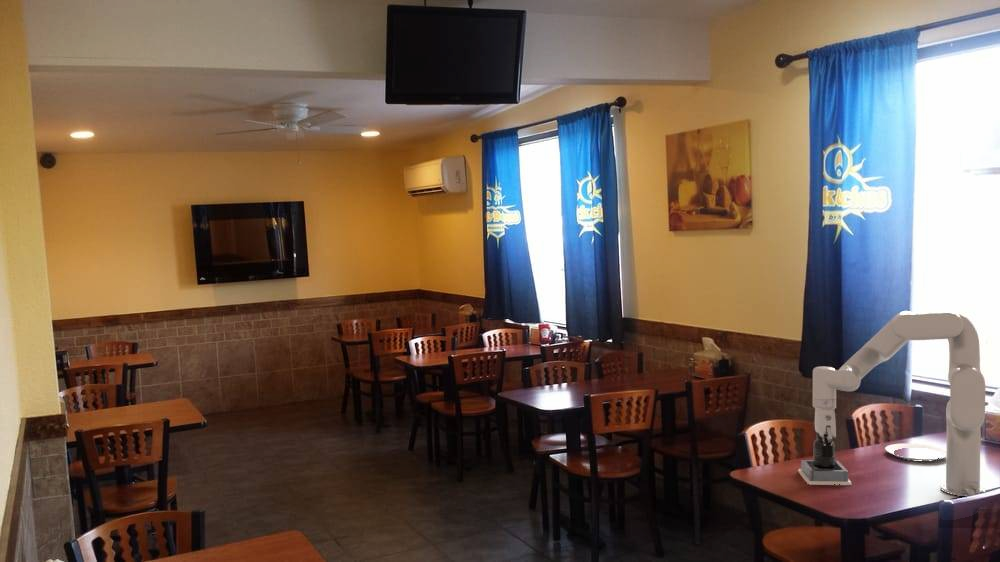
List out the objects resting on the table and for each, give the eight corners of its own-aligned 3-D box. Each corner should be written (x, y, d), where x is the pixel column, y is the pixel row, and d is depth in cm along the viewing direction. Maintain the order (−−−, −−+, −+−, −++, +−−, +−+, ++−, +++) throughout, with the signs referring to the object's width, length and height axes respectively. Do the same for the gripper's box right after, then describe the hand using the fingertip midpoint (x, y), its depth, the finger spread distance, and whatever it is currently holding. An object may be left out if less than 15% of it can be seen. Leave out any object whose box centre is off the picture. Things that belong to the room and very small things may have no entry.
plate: (884, 461, 297) (884, 455, 297) (886, 446, 315) (886, 441, 315) (948, 468, 287) (948, 461, 287) (947, 452, 306) (947, 446, 305)
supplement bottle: (837, 469, 275) (838, 435, 274) (817, 470, 275) (817, 435, 274) (830, 463, 282) (830, 430, 281) (810, 464, 282) (810, 430, 281)
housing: (851, 485, 271) (851, 472, 271) (808, 484, 273) (808, 471, 273) (839, 472, 285) (839, 459, 285) (798, 471, 287) (798, 459, 286)
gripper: (843, 408, 268) (842, 461, 269) (828, 397, 285) (828, 446, 286) (819, 408, 269) (819, 461, 270) (806, 397, 286) (806, 446, 287)
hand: (824, 453), depth 278 cm, fingers closed on supplement bottle, 6 cm apart
